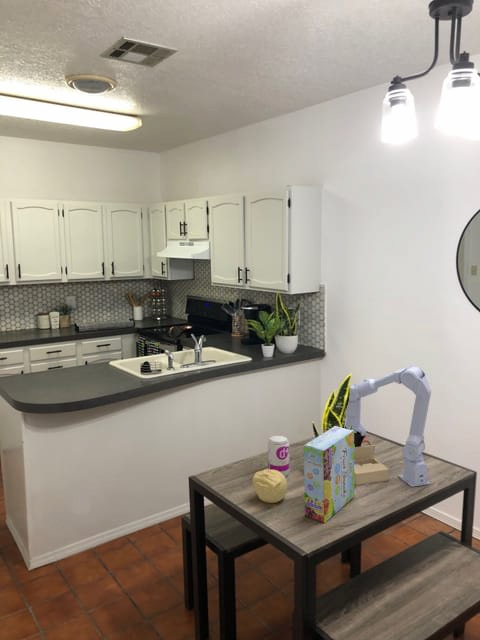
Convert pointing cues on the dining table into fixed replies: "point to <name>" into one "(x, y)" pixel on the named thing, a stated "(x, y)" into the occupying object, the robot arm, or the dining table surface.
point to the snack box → (328, 473)
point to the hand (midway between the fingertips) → (352, 446)
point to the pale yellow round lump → (270, 485)
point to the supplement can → (278, 454)
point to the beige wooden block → (364, 450)
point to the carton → (369, 471)
